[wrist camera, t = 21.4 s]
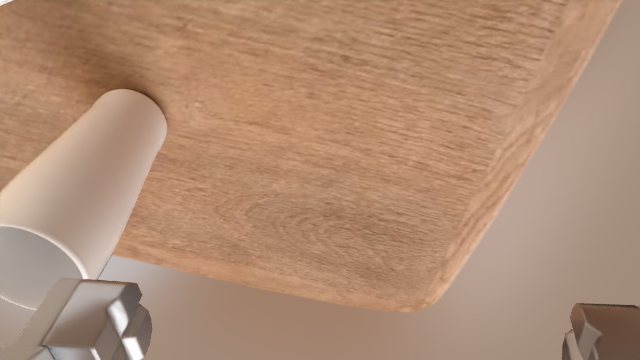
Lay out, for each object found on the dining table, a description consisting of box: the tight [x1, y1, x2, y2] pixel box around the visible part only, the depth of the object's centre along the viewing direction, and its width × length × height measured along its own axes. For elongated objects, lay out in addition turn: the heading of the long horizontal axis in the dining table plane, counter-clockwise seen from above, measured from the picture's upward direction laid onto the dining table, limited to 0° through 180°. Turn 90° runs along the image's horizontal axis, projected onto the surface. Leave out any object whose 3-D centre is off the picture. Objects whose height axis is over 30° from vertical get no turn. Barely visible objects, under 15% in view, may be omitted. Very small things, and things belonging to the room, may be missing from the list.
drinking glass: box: [0, 89, 167, 310], centre depth 36 cm, size 7×7×15 cm
